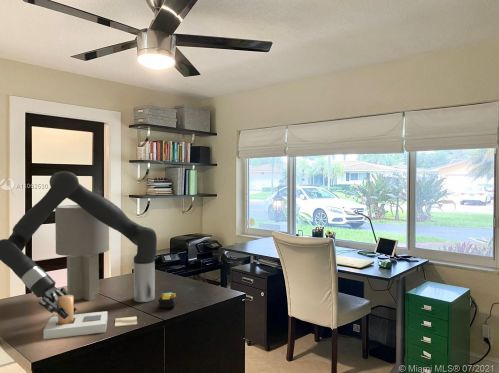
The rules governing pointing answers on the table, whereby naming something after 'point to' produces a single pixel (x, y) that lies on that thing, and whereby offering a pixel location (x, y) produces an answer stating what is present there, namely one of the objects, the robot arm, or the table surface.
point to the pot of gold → (167, 300)
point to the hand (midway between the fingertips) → (70, 314)
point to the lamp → (80, 248)
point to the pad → (125, 321)
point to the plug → (66, 309)
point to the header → (77, 325)
